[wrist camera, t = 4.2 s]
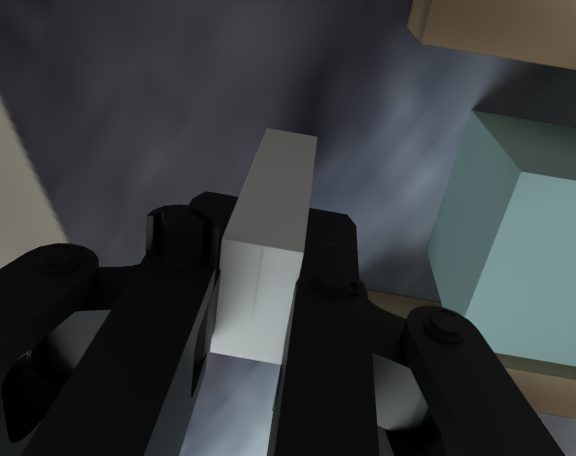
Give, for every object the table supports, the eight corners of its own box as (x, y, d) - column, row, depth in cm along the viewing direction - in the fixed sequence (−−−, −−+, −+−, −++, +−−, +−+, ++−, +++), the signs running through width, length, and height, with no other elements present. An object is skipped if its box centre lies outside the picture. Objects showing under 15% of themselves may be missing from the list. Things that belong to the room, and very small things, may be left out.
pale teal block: (470, 109, 16) (521, 171, 11) (635, 136, 16) (749, 209, 11) (426, 249, 18) (453, 345, 14) (568, 273, 18) (641, 377, 14)
